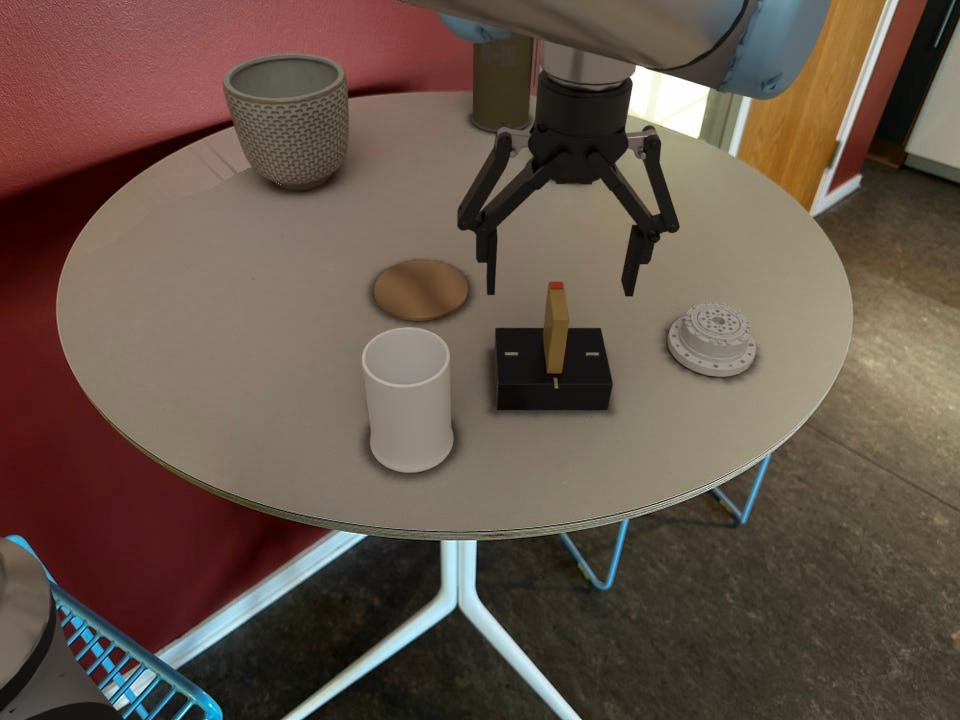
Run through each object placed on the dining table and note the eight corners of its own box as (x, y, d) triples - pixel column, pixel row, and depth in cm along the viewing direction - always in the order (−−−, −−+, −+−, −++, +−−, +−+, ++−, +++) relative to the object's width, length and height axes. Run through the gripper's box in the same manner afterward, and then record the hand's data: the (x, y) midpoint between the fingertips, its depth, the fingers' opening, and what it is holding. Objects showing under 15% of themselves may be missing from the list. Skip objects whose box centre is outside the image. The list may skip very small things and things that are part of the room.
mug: (394, 382, 79) (387, 298, 71) (469, 396, 78) (470, 311, 70) (358, 464, 71) (345, 379, 63) (441, 481, 70) (438, 396, 61)
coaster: (421, 334, 85) (421, 331, 85) (354, 292, 91) (354, 289, 90) (487, 288, 92) (487, 285, 91) (420, 252, 97) (420, 249, 97)
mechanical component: (668, 373, 81) (757, 384, 80) (676, 344, 78) (769, 355, 77) (665, 317, 88) (747, 327, 87) (672, 289, 85) (758, 298, 84)
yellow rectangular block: (562, 373, 75) (569, 317, 70) (546, 373, 75) (553, 317, 70) (556, 335, 79) (563, 280, 74) (542, 335, 79) (548, 280, 74)
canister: (465, 129, 125) (465, 7, 111) (478, 104, 132) (480, -12, 118) (526, 136, 123) (534, 14, 109) (536, 111, 130) (545, -7, 117)
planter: (348, 207, 105) (335, 102, 94) (232, 204, 105) (205, 99, 94) (364, 152, 118) (354, 53, 107) (260, 149, 118) (239, 50, 107)
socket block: (497, 414, 76) (498, 387, 73) (494, 349, 83) (495, 322, 81) (608, 414, 76) (614, 387, 74) (595, 349, 84) (600, 323, 81)
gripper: (729, 57, 59) (675, 266, 74) (429, 51, 59) (434, 264, 73) (756, 94, 54) (692, 312, 68) (426, 88, 53) (431, 310, 68)
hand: (558, 287), depth 71 cm, fingers open, 13 cm apart
